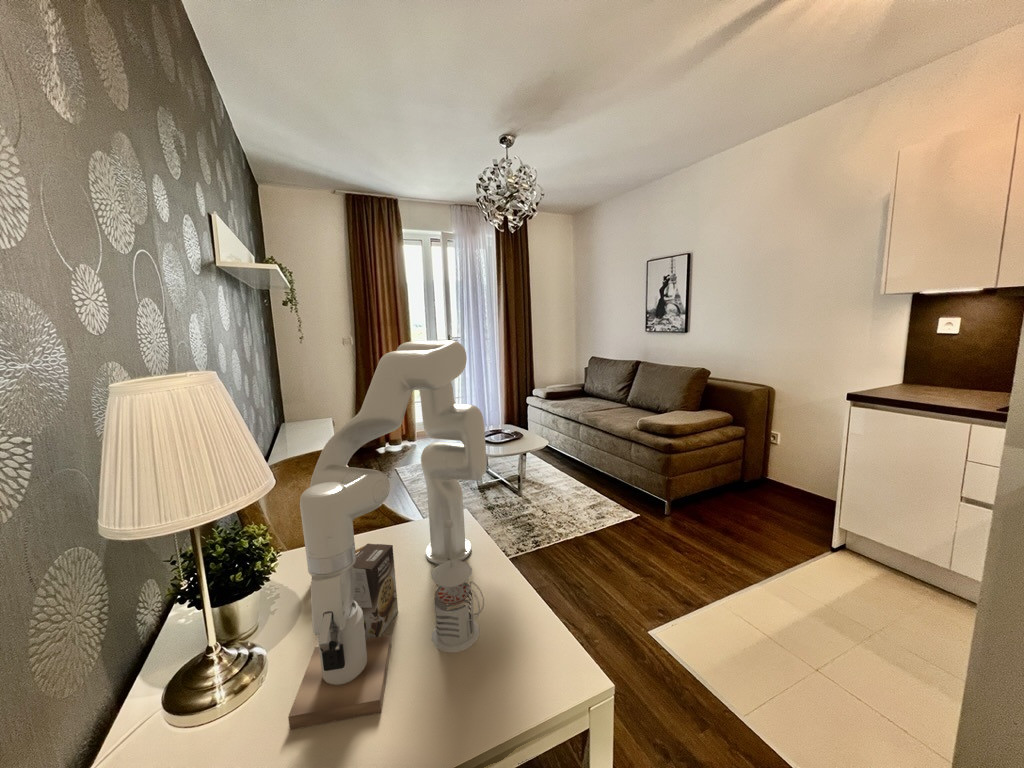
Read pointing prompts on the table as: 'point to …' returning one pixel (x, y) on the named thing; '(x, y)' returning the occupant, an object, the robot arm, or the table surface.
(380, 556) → the coffee box
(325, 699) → the riser
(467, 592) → the french press
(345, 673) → the can
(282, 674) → the table surface
